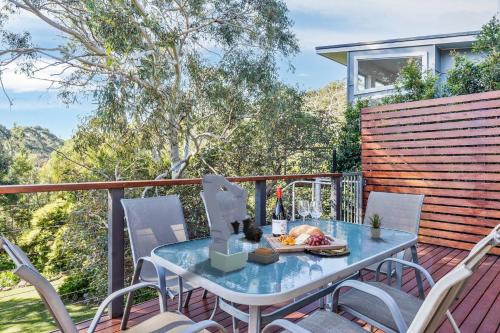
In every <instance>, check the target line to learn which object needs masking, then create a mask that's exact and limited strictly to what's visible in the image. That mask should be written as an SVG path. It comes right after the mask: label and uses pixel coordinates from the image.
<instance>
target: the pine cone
mask: <svg viewBox="0 0 500 333" xmlns="http://www.w3.org/2000/svg"><path fill="white" fill-rule="evenodd" d="M242 233H243V234H244V239H246V240H248V241H252V242H254V243H258V242H261V241H262V240H261V239H262V237H263V235H264V231H263V230H262V228H261V227H259V226H258V225H257V224H256V223H254V222H251V223H250V225H249V228H248V232H247V233H246V232H244V227H242Z"/></svg>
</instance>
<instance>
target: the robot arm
mask: <svg viewBox="0 0 500 333" xmlns="http://www.w3.org/2000/svg"><path fill="white" fill-rule="evenodd" d="M201 185H202V188H203V196H204V200H205V203H206V207H207V211H208V214H209V217H210V220H211V225H210V227H209V235H210V238H211V239H212V241H211V242H210V243H209V245H208V257H207V259H209V260H211V251H216V252H219V253H222V254H225V255H228V241H229V240H230V239H231V236H232V232H231V230H230V228H229V226H228V225H227V224H226V223H225V222H224V221H223V217H222V214H221V210H220V205H219V202H218V199H217V196H216V195H217V194H218V193H219V192H220V190H222V187H224V188H225V189H227V191H228V193H230V194H232V195H233V197H234V198H235V217H233V218H230V225H231V226H232V227H231V228H232V229H233V232H234V235H236V236H238V235H239V232H240V231H239V230H240V225H241V223H240V222H242V225H243V227H244V232H246V233H247V232H248V228H249V225H250V223H252V215H248V214H247V201H248V197H249V193H250V192H249V190H248V189H247V188H245V187H243V186H242V185H239V184H238V183H237V182H236V181H233V182H230V181H229V180H228V179H226V177H225V176H224V175H222V174H208V173H206V174H204V176H203V177H202V179H201ZM243 227H242V228H243Z"/></svg>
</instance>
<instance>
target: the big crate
mask: <svg viewBox="0 0 500 333" xmlns="http://www.w3.org/2000/svg"><path fill="white" fill-rule="evenodd" d="M247 260H248V261H251V262H255V263H260V264H264V265H269V264H271V263H273V262H277V261H279V260H280V252H276V251H272V255H270V256H267V257H265V256H261V255H257V254H255V250H252V251H250V252H247Z"/></svg>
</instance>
